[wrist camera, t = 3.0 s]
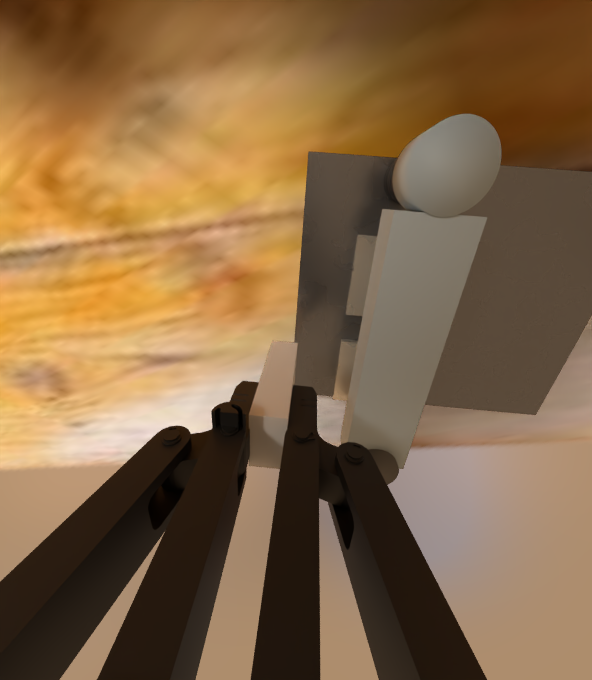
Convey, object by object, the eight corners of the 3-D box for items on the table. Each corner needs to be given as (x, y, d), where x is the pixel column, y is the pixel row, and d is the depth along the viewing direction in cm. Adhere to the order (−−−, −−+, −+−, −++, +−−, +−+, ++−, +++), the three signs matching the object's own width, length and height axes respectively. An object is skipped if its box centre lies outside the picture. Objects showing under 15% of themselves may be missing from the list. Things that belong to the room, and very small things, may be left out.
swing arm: (395, 128, 12) (417, 107, 9) (480, 134, 12) (528, 114, 9) (337, 446, 20) (340, 484, 18) (388, 451, 20) (399, 490, 17)
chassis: (310, 156, 18) (307, 134, 12) (609, 178, 18) (756, 166, 12) (293, 368, 26) (287, 420, 20) (508, 388, 25) (568, 446, 19)
